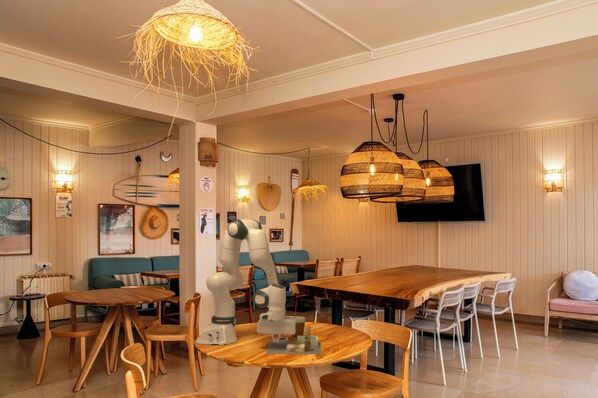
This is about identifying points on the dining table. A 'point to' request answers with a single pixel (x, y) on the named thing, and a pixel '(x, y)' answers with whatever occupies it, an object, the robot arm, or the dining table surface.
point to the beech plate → (295, 347)
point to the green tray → (313, 339)
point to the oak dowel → (307, 332)
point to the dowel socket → (282, 341)
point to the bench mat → (283, 350)
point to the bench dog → (307, 345)
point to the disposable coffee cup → (299, 327)
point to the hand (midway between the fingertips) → (276, 342)
